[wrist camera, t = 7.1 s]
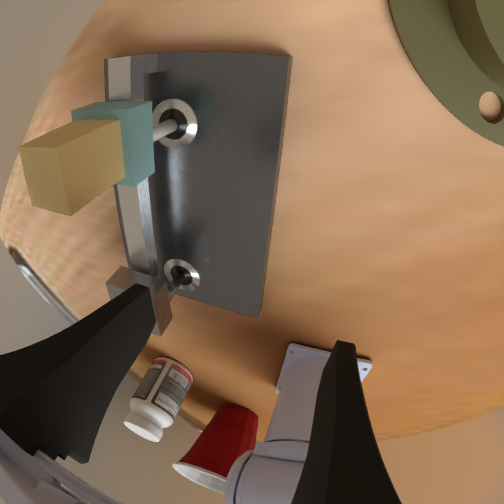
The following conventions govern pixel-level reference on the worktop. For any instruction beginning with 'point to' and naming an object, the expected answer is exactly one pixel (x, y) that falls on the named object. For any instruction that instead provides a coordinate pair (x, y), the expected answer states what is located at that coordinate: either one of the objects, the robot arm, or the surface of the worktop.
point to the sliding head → (92, 154)
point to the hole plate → (215, 171)
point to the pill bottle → (158, 398)
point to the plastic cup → (219, 447)
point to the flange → (457, 54)
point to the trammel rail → (139, 204)
